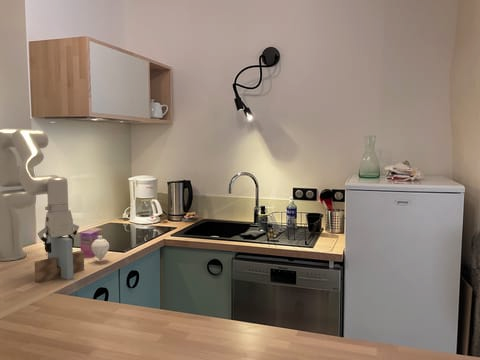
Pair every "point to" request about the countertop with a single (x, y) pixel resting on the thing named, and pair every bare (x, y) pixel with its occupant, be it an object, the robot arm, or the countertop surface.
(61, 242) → the grey slotted plate
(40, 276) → the walnut slotted plate
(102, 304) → the countertop surface
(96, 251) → the spinning top
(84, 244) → the box
